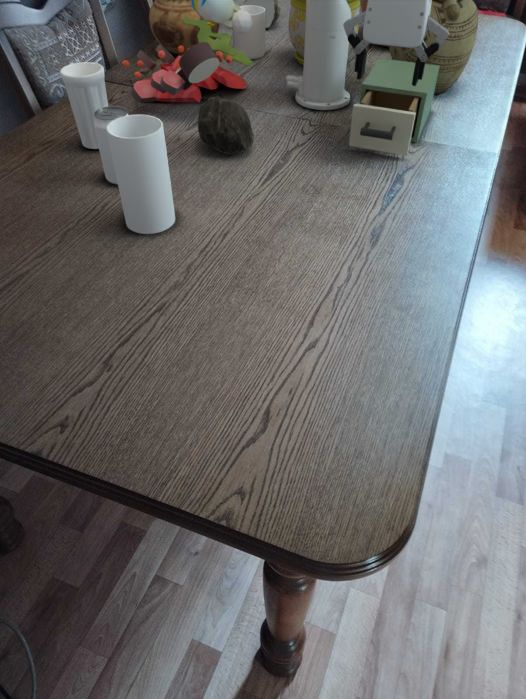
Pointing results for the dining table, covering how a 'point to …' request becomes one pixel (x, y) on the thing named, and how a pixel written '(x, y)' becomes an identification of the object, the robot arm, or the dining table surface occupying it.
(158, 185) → the cup
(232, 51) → the sushi set
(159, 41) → the clay pot
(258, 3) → the sculpture
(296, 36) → the flowerpot
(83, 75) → the cup
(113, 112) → the can
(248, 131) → the rock
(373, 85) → the cabinet
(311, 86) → the robot arm
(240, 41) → the mug
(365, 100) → the drawer
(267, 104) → the dining table surface
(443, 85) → the ceramic vessel
